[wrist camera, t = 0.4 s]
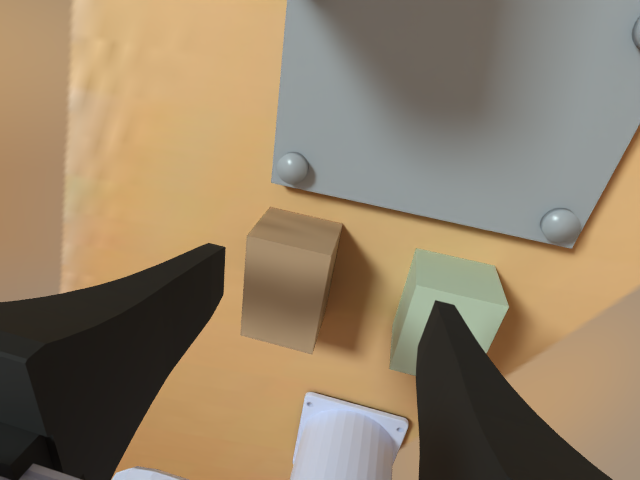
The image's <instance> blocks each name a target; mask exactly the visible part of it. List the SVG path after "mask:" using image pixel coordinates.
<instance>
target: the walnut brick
mask: <svg viewBox="0 0 640 480" xmlns="http://www.w3.org/2000/svg"><path fill="white" fill-rule="evenodd" d="M342 225H343V224H342V223H338V222H333V221H329V220H325V219H320V218H316V217H312V216H307V215H303V214H299V213H294V212H290V211H286V210H281V209H277V208H273V207H270V208H269V209H268V210H267V211H266V213H265V214H264V215H263V216H262V218H261V219H260V220H259V221H258V222H257V224H256V225H255V226H254V227H253V229H252V230H251V231H250V232H249V234H248V235H247V242H246V258H245V273H244V289H243V305H242V320H241V336H245V337H249V338H252V339H256V340H260V341H264V342H267V343H271V344H275V345H279V346H282V347H286V348H290V349H294V350H297V351H301V352H305V353H308V354H313V350H314V347H315V344H316V341H317V338H318V334H319V331H320V328H321V325H322V321H323V318H324V315H325V310H326V305H327V300H328V295H329V290H330V285H331V280H332V275H333V270H334V265H335V260H336V255H337V250H338V245H339V240H340V235H341V230H342Z"/></svg>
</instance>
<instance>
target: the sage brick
mask: <svg viewBox="0 0 640 480" xmlns="http://www.w3.org/2000/svg"><path fill="white" fill-rule="evenodd" d="M435 300H437V301H441V302H445V303H449V304H453V305H455V307H456V308H457V310H458V311H459V313H460V315H461V316H462V318H463V319H464V321H465V323H466V324H467V326H468V327H469V329H470V331H471V332H472V334H473V335H474V337H475V338H476V340H477V341H478V343H479V344H480V346H481V347H482V349H483V350H484V352H485V353H487V351H488V349H489V347H490V345H491V343H492V341H493V339H494V337H495V335H496V333H497V331H498V329H499V327H500V324H501V322H502V320H503V318H504V316H505V314H506V312H507V310H508V308H509V305H508V303H507V300H506V297H505V294H504V291H503V288H502V285H501V282H500V279H499V276H498V274H497V271H496V268H495V266H494V265H489V264H485V263H480V262H476V261H471V260H467V259H463V258H458V257H454V256H449V255H445V254H440V253H436V252H431V251H427V250H422V249H418V248H416V250H415V254H414V257H413V260H412V263H411V267H410V270H409V273H408V276H407V280H406V283H405V286H404V290H403V293H402V296H401V299H400V303H399V306H398V309H397V312H396V316H395V319H394V322H393V326H392V340H391V354H390V368H389V369H391V370H395V371H399V372H403V373H407V374H410V375H414V376H416V361H417V349H418V344H419V342H420V339H421V336H422V334H423V331H424V328H425V326H426V323H427V321H428V318H429V315H430V313H431V310H432V307H433V305H434V302H435Z"/></svg>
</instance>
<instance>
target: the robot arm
mask: <svg viewBox="0 0 640 480" xmlns="http://www.w3.org/2000/svg"><path fill="white" fill-rule="evenodd" d="M224 269H225V247H223V246H219V245H215V244H211V243H208V244H205V245H202V246H200V247H198V248H195V249H193V250H191V251H188V252H186V253H184V254H182V255H179V256H177V257H175V258H173V259H170V260H168V261H166V262H163V263H161V264H159V265H156V266H153V267H151V268H148V269H146V270H143V271H140V272H138V273H135V274H133V275H130V276H127V277H124V278H121V279H118V280H115V281H111V282H108V283H104V284H101V285H97V286H93V287H89V288H85V289H80V290H76V291H71V292H67V293H62V294H57V295H51V296H46V297H40V298H33V299H26V300H19V301H10V302H0V480H111V478H112V476H113V474H114V472H115V470H116V468H117V466H118V464H119V462H120V460H121V458H122V457H123V455H124V453H125V451H126V449H127V447H128V445H129V443H130V441H131V440H132V438H133V436H134V434H135V432H136V430H137V428H138V427H139V425H140V423H141V421H142V420H143V418H144V416H145V414H146V413H147V411H148V409H149V407H150V405H151V404H152V402H153V400H154V399H155V397H156V395H157V394H158V392H159V390H160V389H161V387H162V385H163V384H164V382H165V380H166V379H167V377H168V376H169V374H170V373H171V371H172V370H173V368H174V367H175V366H176V364H177V363H178V361H179V360H180V359H181V357H182V356H183V355H184V353H185V352H186V351H187V349H188V348H189V347H190V345H191V344H192V343H193V341H194V340H195V339H196V337H197V336H198V335H199V333H200V332H201V331H202V329H203V328H204V327H205V325H206V324H207V323H208V321H209V320H210V318H211V317H212V315H213V313H214V311H215V310H216V308H217V306H218V304H219V302H220V300H221V298H222V296H223V292H224ZM416 390H417V407H418V422H419V438H420V461H419V480H612V479H611V478H610V477H609V476H607V475H606V474H605V473H603V472H602V471H600V470H599V469H598V468H597V467H595V466H594V465H593V464H592V463H591V462H589V461H588V460H587V459H586V458H585V457H583V456H582V455H581V454H580V453H579V452H577V451H576V450H575V449H574V448H573V447H572V446H570V445H569V444H568V443H567V442H566V441H565V440H564V439H563V438H561V437H560V436H559V435H558V434H557V433H556V432H555V431H554V430H553V429H552V428H551V427H550V426H549V425H548V424H547V423H546V422H545V421H544V420H542V419H541V418H540V417H539V416H538V415H537V414H536V413H535V412H534V411H533V410H532V409H531V408H530V407H529V405H528V404H527V403H526V402H525V401H524V400H523V399H522V398H521V397H520V396H519V395H518V393H517V392H516V391H515V390H514V389H513V388H512V387H511V385H510V384H509V383H508V382H507V381H506V379H505V378H504V377H503V376H502V374H501V373H500V372H499V370H498V369H497V368H496V366H495V365H494V364H493V363H492V361H491V360H490V359H489V357H488V356H487V354H486V353H485V352H484V350H483V349H482V347H481V346H480V344H479V343H478V341H477V340H476V338H475V337H474V335H473V334H472V332H471V331H470V329H469V327H468V326H467V324H466V323H465V321H464V319H463V318H462V316H461V315H460V313H459V311H458V310H457V308H456V307H455V305H453V304H449V303H445V302H441V301H437V300H435V302H434V305H433V307H432V310H431V313H430V315H429V318H428V321H427V323H426V326H425V328H424V331H423V334H422V336H421V339H420V342H419V344H418V349H417V361H416ZM407 429H408V420H407V419H406V418H404V417H400V416H397V415H393V414H389V413H386V412H382V411H379V410H375V409H371V408H368V407H364V406H361V405H357V404H353V403H350V402H346V401H343V400H339V399H335V398H332V397H328V396H325V395H321V394H317V393H314V392H308V393H306V395H305V399H304V404H303V410H302V415H301V420H300V426H299V431H298V436H297V441H296V447H295V452H294V457H293V464H294V466H293V470H292V473H291V477H290V480H392V465H393V463H394V461H395V458H396V456H397V453H398V451H399V449H400V446H401V444H402V441H403V439H404V436H405V434H406V431H407ZM112 480H189V479H186V478H182V477H179V476H176V475H173V474H170V473H167V472H164V471H161V470H158V469H151V468H145V467H139V466H137V467H133V468H130V469H127V470H124V471H121V472H118V473H116V474H115V476H114V477H113V479H112Z"/></svg>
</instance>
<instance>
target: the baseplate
mask: <svg viewBox="0 0 640 480" xmlns="http://www.w3.org/2000/svg"><path fill="white" fill-rule="evenodd" d="M639 124H640V0H287V9H286V20H285V31H284V43H283V54H282V66H281V77H280V88H279V100H278V111H277V122H276V134H275V145H274V157H273V168H272V179H271V183H275V184H279V185H284V186H288V187H293V188H297V189H302V190H307V191H311V192H316V193H320V194H325V195H329V196H334V197H338V198H343V199H348V200H352V201H357V202H361V203H366V204H370V205H375V206H379V207H384V208H389V209H393V210H398V211H402V212H407V213H411V214H416V215H421V216H425V217H430V218H434V219H439V220H443V221H448V222H452V223H457V224H462V225H466V226H471V227H475V228H480V229H484V230H489V231H493V232H498V233H503V234H507V235H512V236H516V237H521V238H525V239H530V240H534V241H539V242H544V243H548V244H553V245H557V246H562V247H566V248H571V249H572V247H573V245H574V244H575V242H576V240H577V238H578V236H579V234H580V233H581V231H582V229H583V227H584V225H585V223H586V222H587V220H588V218H589V216H590V214H591V212H592V211H593V209H594V207H595V205H596V203H597V201H598V200H599V198H600V196H601V194H602V192H603V190H604V189H605V187H606V185H607V183H608V181H609V179H610V178H611V176H612V174H613V172H614V170H615V168H616V167H617V165H618V163H619V161H620V159H621V157H622V155H623V154H624V152H625V150H626V148H627V146H628V144H629V143H630V141H631V139H632V137H633V135H634V133H635V132H636V130H637V128H638V126H639Z"/></svg>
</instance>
